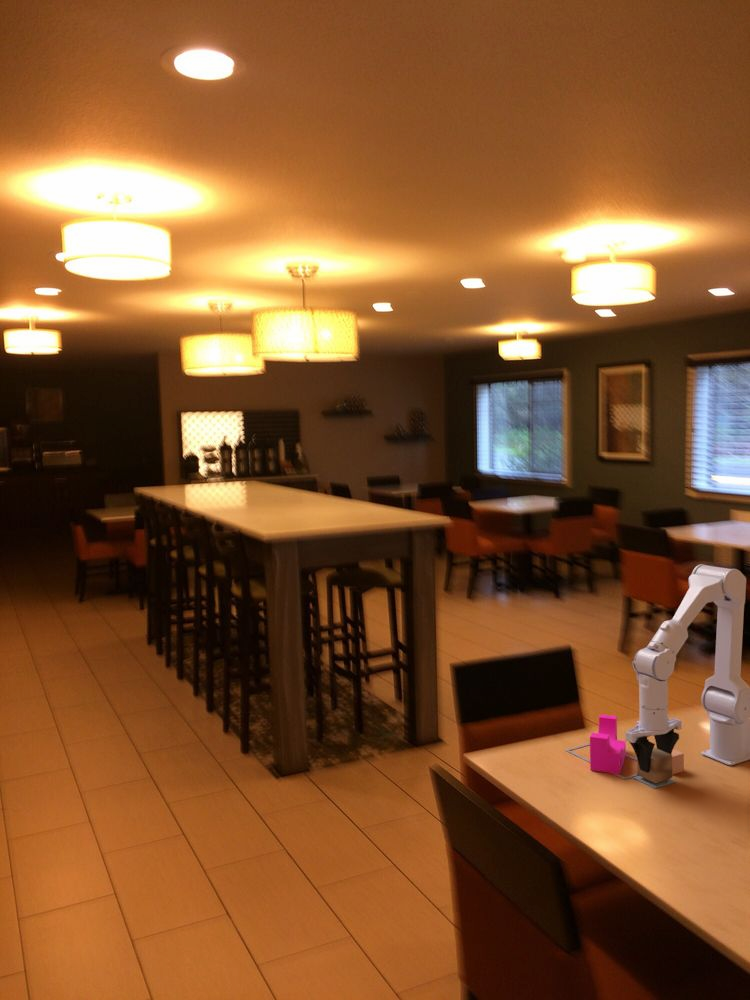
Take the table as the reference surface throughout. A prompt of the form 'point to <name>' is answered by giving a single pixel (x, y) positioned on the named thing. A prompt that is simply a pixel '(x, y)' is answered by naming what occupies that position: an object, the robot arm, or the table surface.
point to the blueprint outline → (639, 778)
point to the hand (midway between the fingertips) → (654, 767)
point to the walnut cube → (658, 767)
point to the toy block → (607, 747)
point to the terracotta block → (677, 761)
